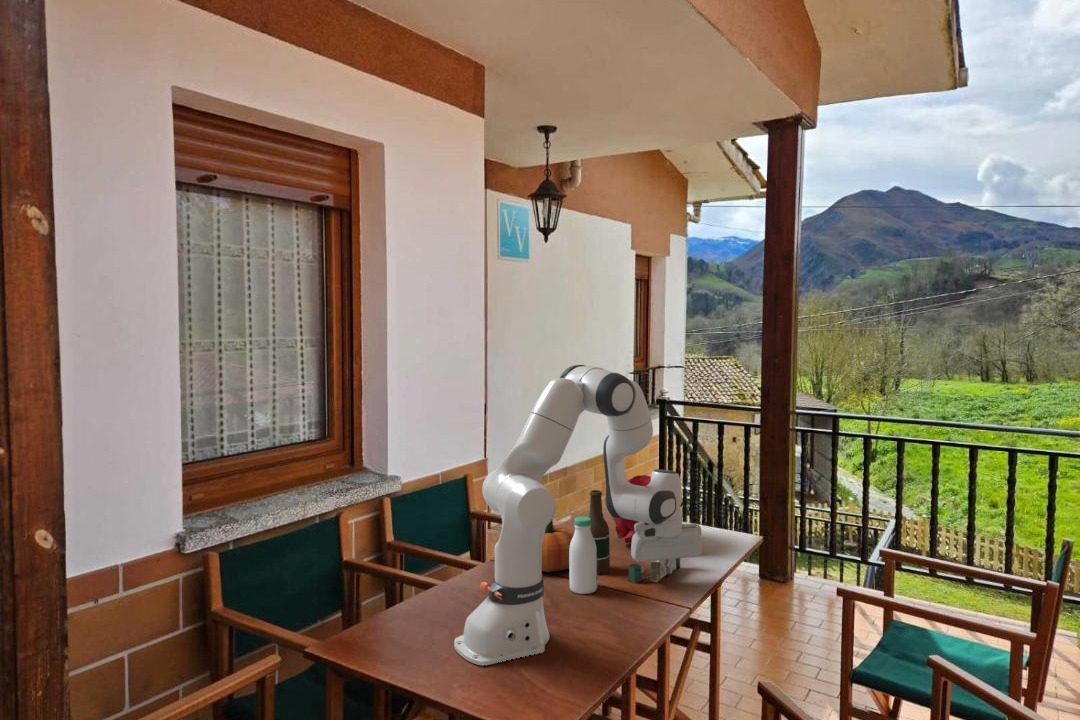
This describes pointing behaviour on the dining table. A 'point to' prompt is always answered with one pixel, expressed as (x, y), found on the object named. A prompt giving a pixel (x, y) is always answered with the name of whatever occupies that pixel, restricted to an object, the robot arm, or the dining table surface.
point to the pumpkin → (556, 548)
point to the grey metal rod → (645, 576)
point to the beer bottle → (599, 532)
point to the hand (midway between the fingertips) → (667, 573)
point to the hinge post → (677, 563)
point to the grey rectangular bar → (658, 570)
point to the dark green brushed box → (635, 572)
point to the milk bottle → (583, 558)
